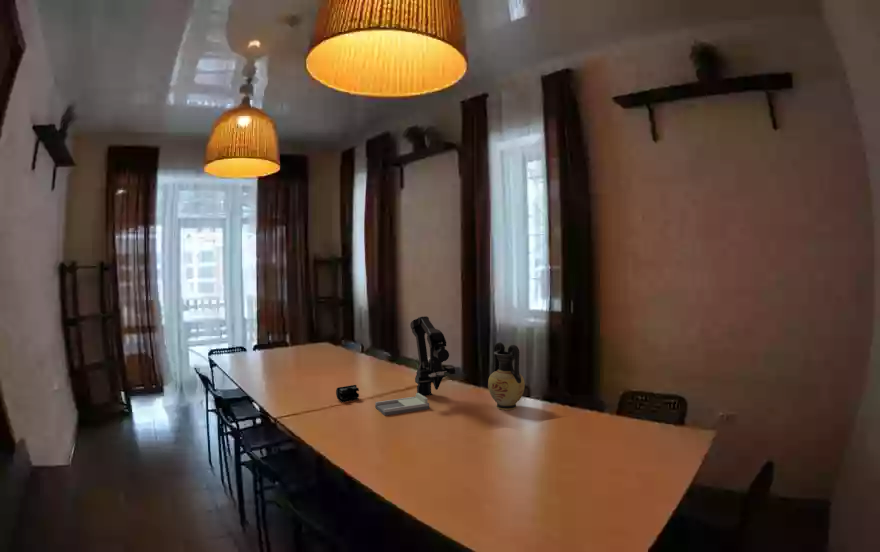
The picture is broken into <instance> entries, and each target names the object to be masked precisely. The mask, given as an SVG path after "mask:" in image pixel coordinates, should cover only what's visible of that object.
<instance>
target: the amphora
mask: <svg viewBox="0 0 880 552" xmlns="http://www.w3.org/2000/svg"><path fill="white" fill-rule="evenodd" d="M505 348H506V347H505V345H504V343H503V342H496V343H495V344H494V346H493V355H494V368H493V372H492V373H490V375H489V377H488V382H487V388H488V391H489V394H490V396H491V397H492V400H493V401H495V403H496V408H497V409H498V410H501V411H504V410H505V411H510V410H511V411H512V410H515V409H516V408H517V403H518V402H519V401H520V400H521V398H522V397H523V395H524V392H525V385H526V384H525V378H524V376H523V375H522V374H521V373H520V349H519V347H518V346H517V345H516V344H511V345H509V346H508V348H507V350H505ZM513 363H514V364H513ZM513 366H514V367H513Z"/></svg>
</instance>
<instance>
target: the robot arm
mask: <svg viewBox="0 0 880 552" xmlns="http://www.w3.org/2000/svg"><path fill="white" fill-rule="evenodd" d="M432 323H433V322H431V320H430V318H429V316H426V315H424V316H419V317H418V318H415V319H413V320H411V322H410V324H409V325H410V330H411V332H412V334H413V335H414V337H415V340H416V347H417V348H416V349H417V355H418V363H419V365H418V366H417V369H416V370H417V371H416V375H415V377H414V380H415V381H414V382H415V383H416V384H417V385H416V393H420V394H421V395H423V396H424V397H426V396H432V395H433V393H432V384H433V387H434V389H435V390H438V389H439V388H440V385H441V382H442V381H443V379H444V378H445V377H446V375H445V374H446V373H448V374H450V375H453V374H454V375H455V374H457V372H456V371H457V369H456V368H455V367H453V366H444V367H443V363H444V362H446V361H447V360H448V359H449V358H450V353H449V351H448V350H447V349H446V347H447V340H446V338H445V335H444V334H443V332H442V331H441V330H440V329H438V328H436V327H435V326H434V325H433V324H432ZM426 335H427V336H426ZM426 340H427V342H426ZM426 343H428V346H429V357H428V351H427V350H428V349H427V344H426ZM428 358H429V359H428Z"/></svg>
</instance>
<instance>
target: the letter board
mask: <svg viewBox="0 0 880 552" xmlns="http://www.w3.org/2000/svg"><path fill="white" fill-rule="evenodd" d="M410 398H416V396H411V397H410V396H409V397H403V398H396V399H388V400H382V401H375V403H374V407H375V409H376V410H377V411H378V412H380V413H381V414H382V415H383V416H391V415H397V414H398V415H399V414H405V413H411V412H418V411H425V410H430V402H428V403H423V404H416V405H409V406H402V405H401V404H400V403H398V402H397V400H403V399H410Z"/></svg>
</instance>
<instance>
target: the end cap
mask: <svg viewBox="0 0 880 552" xmlns="http://www.w3.org/2000/svg"><path fill="white" fill-rule="evenodd" d="M359 391H360V389H359V387H357V384H351V385H344V386H339V387H336V390H335V395H336V398H337V400H338V401H339V402H341V403H348V402H353V401H358V400H359V397H360V393H359Z"/></svg>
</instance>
